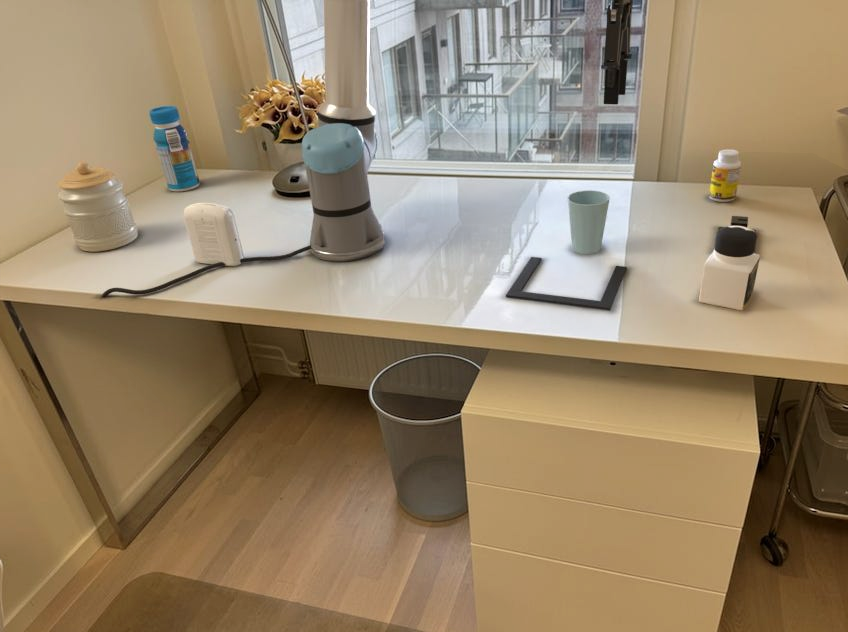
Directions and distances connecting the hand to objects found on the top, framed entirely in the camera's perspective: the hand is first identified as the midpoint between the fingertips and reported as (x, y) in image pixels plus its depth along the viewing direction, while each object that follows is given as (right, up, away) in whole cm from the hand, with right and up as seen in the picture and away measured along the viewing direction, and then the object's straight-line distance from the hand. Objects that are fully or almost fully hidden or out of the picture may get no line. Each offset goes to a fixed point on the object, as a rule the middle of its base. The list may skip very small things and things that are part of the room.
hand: (614, 98), depth 140 cm
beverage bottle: (-103, -7, +45) cm, 112 cm away
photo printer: (-80, -32, +3) cm, 86 cm away
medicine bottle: (+13, -42, -23) cm, 50 cm away
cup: (-6, -31, -4) cm, 32 cm away
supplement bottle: (+27, -17, +13) cm, 34 cm away
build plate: (+22, -30, -6) cm, 37 cm away
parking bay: (-12, -38, -14) cm, 42 cm away
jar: (-109, -26, +16) cm, 113 cm away
